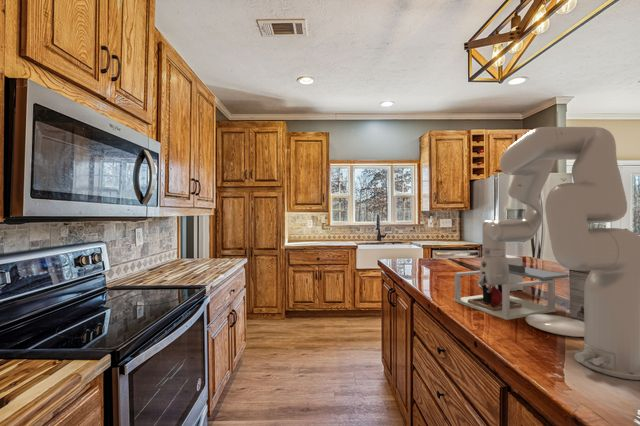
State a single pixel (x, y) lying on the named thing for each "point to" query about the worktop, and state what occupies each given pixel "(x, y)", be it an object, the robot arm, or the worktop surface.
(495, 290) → the onion
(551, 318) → the plate
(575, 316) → the coffee box
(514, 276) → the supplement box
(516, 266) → the slide cover
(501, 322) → the worktop surface
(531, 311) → the white tiered shelf stand
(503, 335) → the worktop surface
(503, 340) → the worktop surface
